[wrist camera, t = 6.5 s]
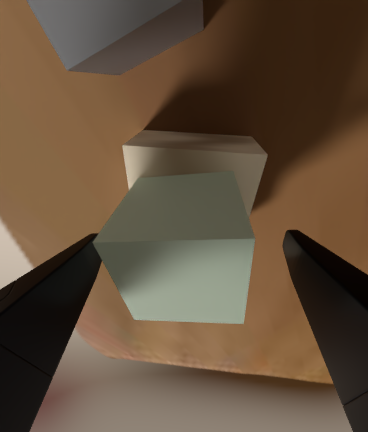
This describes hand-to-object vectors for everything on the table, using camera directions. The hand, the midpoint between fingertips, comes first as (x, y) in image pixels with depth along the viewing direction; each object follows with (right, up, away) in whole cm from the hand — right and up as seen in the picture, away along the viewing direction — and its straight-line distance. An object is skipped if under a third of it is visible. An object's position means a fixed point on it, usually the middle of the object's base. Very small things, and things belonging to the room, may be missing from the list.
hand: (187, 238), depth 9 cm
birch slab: (+1, +4, +5) cm, 6 cm away
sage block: (0, +1, +2) cm, 2 cm away
